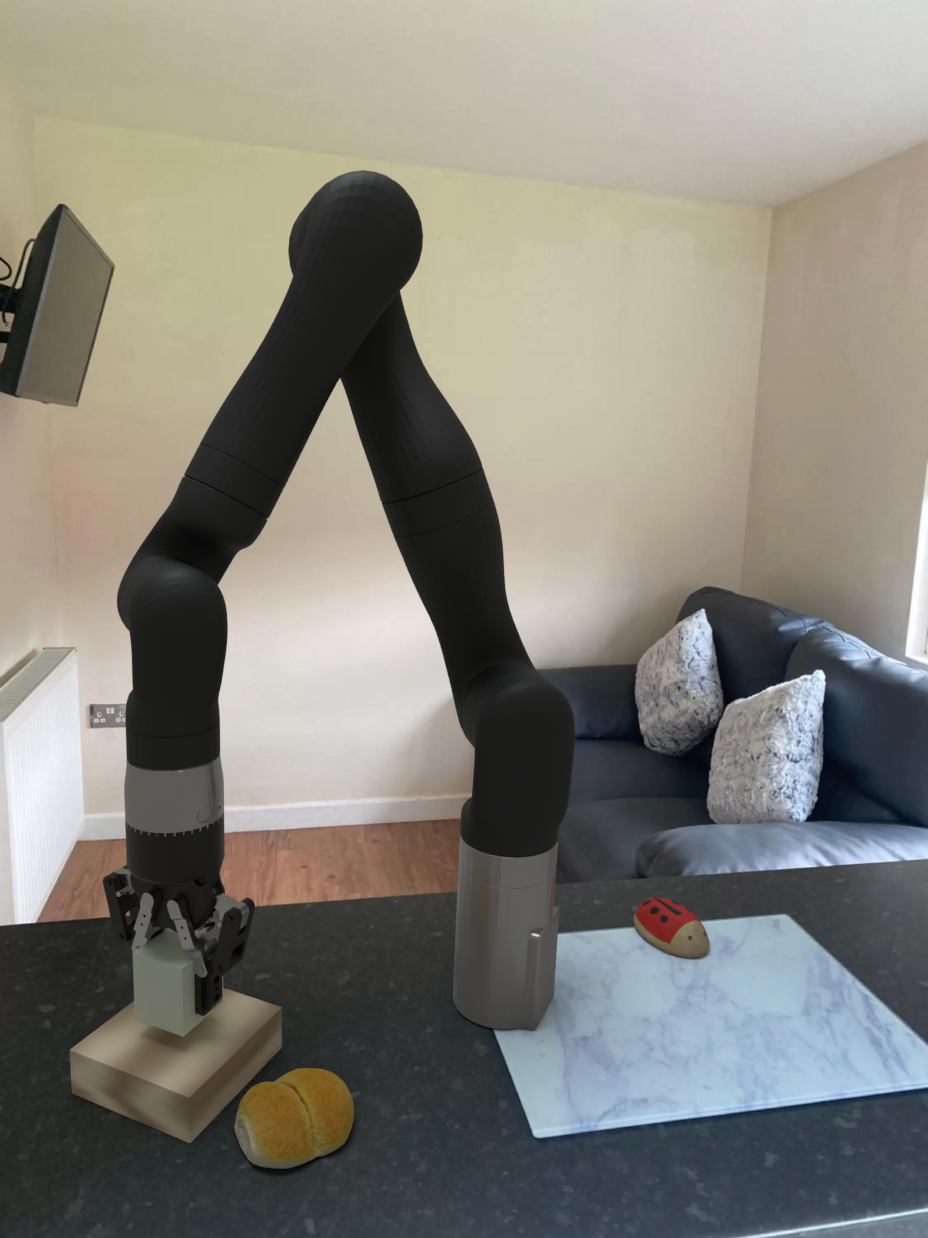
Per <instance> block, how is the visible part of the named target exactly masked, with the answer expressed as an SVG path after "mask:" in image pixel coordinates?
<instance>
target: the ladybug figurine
mask: <svg viewBox="0 0 928 1238" xmlns="http://www.w3.org/2000/svg"><path fill="white" fill-rule="evenodd" d="M633 925H634V928H635V929H636V931H637V932H638V933H639V935H640V936H642V937H643V938H644V940H646V941H647V942H648V943H650V944H651V945H653V946H655V947H656V948H658V949H659V950H662V951H664V952H666V953H669V954H670V953H671V955H673V954H674V956H677V955H678V957H681V956H682V957H683V958H689V957H693V958H700V957H702V956H704V955H705V954H707V952H708V951H709V949H710V939H709V935H708V933H707V930H706V928H705V926H704V925H703V923H702V921H701V920H700V919H699V918H698V916H697V915H696V914H694V912H693V911H691V910H689V909H688V908H687V907H685V906H684V905H681V903H678V902H676V901H674V900H672V899H667V898H664V897H660V896H656V897H654V896H653V897H650V898H647V899H645V900H644V901H643V902H642V903H640V905H639V906H637V908H636V911H635V912H634V915H633ZM699 956H700V957H699Z"/></svg>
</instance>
